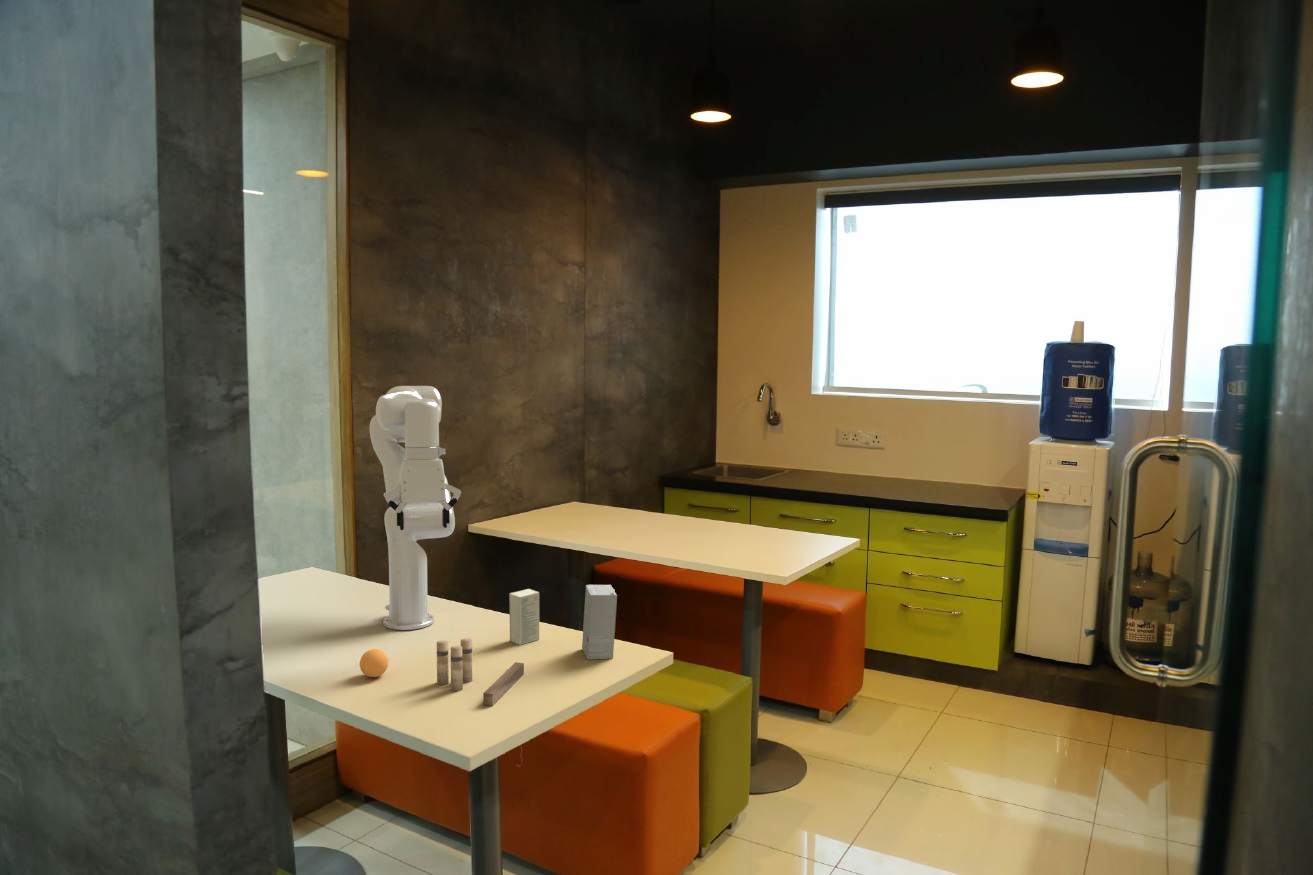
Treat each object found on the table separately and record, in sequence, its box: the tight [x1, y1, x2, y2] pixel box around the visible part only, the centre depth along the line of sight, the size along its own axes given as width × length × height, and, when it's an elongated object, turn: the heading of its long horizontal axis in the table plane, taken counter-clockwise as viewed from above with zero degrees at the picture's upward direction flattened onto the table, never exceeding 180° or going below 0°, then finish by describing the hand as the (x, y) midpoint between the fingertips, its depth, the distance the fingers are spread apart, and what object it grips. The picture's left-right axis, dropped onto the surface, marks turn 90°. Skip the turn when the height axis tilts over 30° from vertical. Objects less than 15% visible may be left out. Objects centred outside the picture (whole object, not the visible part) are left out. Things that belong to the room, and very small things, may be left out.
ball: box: [359, 648, 389, 678], centre depth 191 cm, size 6×6×6 cm
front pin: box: [436, 639, 450, 686], centre depth 188 cm, size 2×2×9 cm
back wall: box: [482, 662, 525, 707], centre depth 185 cm, size 2×18×2 cm, turn 168°
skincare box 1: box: [508, 588, 540, 646], centre depth 216 cm, size 6×4×12 cm
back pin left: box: [460, 637, 473, 684], centre depth 189 cm, size 2×2×9 cm
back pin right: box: [450, 645, 464, 692], centre depth 184 cm, size 2×2×9 cm
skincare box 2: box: [581, 584, 618, 661], centre depth 207 cm, size 8×7×16 cm
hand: (423, 527), depth 203 cm, fingers open, 9 cm apart
